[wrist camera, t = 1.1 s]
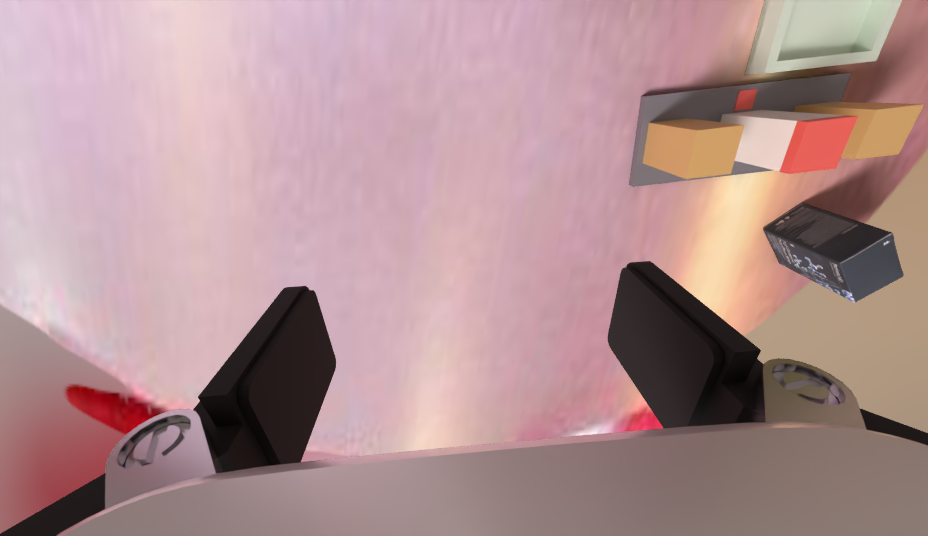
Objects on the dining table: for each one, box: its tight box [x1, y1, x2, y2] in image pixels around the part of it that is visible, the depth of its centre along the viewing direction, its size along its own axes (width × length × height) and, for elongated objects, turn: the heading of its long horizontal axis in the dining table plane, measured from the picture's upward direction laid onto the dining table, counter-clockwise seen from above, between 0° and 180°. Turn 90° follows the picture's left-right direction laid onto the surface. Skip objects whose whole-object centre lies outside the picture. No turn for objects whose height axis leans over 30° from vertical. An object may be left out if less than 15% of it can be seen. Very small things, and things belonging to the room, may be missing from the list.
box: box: [763, 203, 904, 302], centre depth 42 cm, size 8×6×11 cm
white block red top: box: [721, 110, 858, 174], centre depth 34 cm, size 4×4×10 cm
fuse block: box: [629, 73, 924, 187], centre depth 36 cm, size 10×23×9 cm, turn 96°
